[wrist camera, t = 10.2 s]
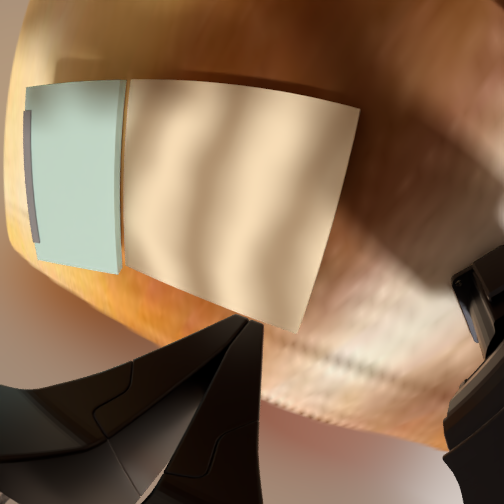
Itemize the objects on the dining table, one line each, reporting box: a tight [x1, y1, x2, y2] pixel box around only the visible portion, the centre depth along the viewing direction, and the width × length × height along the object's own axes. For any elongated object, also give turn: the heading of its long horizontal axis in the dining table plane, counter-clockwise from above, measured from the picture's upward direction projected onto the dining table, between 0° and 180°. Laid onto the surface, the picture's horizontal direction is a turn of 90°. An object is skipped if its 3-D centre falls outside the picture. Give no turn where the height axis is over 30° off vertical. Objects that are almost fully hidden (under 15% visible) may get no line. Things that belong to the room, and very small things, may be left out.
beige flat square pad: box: [124, 79, 361, 334], centre depth 21 cm, size 16×16×2 cm
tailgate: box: [23, 80, 127, 275], centre depth 22 cm, size 2×16×9 cm
